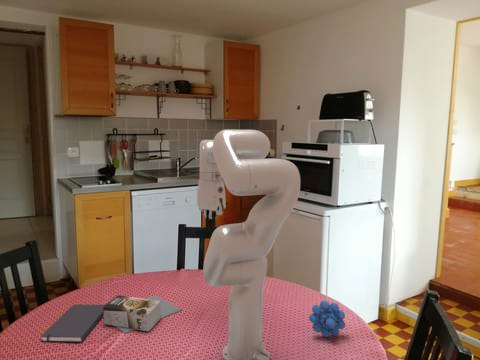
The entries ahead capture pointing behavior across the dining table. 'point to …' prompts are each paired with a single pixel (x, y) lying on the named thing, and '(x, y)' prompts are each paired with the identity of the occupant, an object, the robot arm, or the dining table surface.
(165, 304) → the mat
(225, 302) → the dining table surface
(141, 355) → the dining table surface
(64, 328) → the notebook
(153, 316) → the coffee box
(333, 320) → the grapes
